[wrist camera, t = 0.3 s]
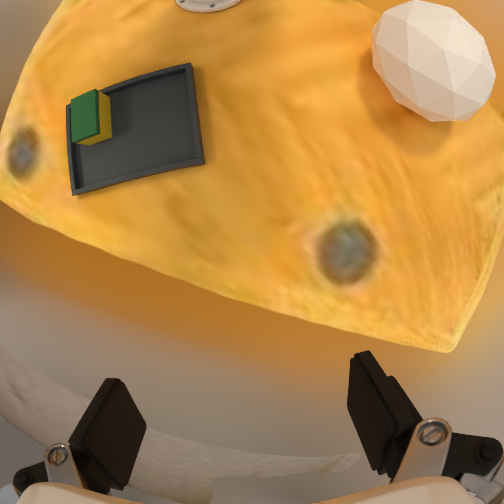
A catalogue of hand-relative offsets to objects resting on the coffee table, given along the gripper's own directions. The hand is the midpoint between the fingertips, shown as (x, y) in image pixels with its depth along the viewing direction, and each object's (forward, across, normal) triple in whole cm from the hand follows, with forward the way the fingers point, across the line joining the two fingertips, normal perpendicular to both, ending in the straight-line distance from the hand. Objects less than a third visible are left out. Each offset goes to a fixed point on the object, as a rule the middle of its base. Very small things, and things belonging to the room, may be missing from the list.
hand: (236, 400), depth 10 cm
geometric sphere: (+31, -31, -24) cm, 50 cm away
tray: (+31, +14, -20) cm, 39 cm away
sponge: (+30, +19, -23) cm, 42 cm away
